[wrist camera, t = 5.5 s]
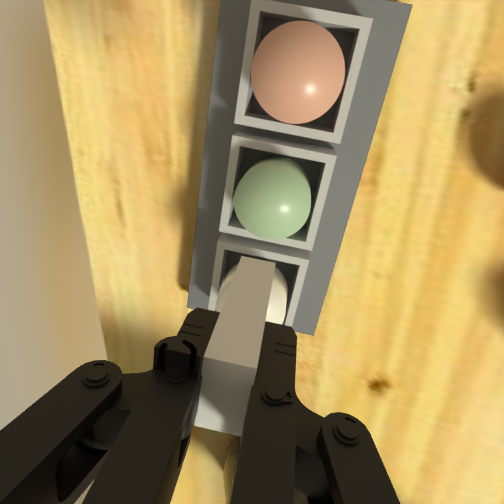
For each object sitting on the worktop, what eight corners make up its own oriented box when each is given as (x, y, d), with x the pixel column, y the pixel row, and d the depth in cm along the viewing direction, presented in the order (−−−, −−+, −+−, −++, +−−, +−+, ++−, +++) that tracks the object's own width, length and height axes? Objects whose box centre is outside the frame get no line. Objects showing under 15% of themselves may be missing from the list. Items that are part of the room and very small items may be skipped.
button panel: (313, 322, 37) (313, 353, 33) (192, 296, 37) (178, 323, 33) (405, 9, 25) (423, -3, 21) (229, -22, 26) (215, -39, 22)
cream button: (280, 320, 32) (277, 344, 29) (220, 307, 32) (211, 329, 30) (293, 267, 30) (292, 287, 27) (229, 253, 30) (220, 272, 27)
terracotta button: (328, 125, 25) (331, 131, 22) (251, 110, 25) (244, 114, 22) (350, 35, 23) (356, 29, 20) (265, 20, 23) (259, 12, 20)
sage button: (302, 229, 30) (301, 246, 27) (236, 216, 30) (228, 231, 27) (318, 163, 27) (319, 174, 24) (247, 149, 28) (239, 158, 25)
